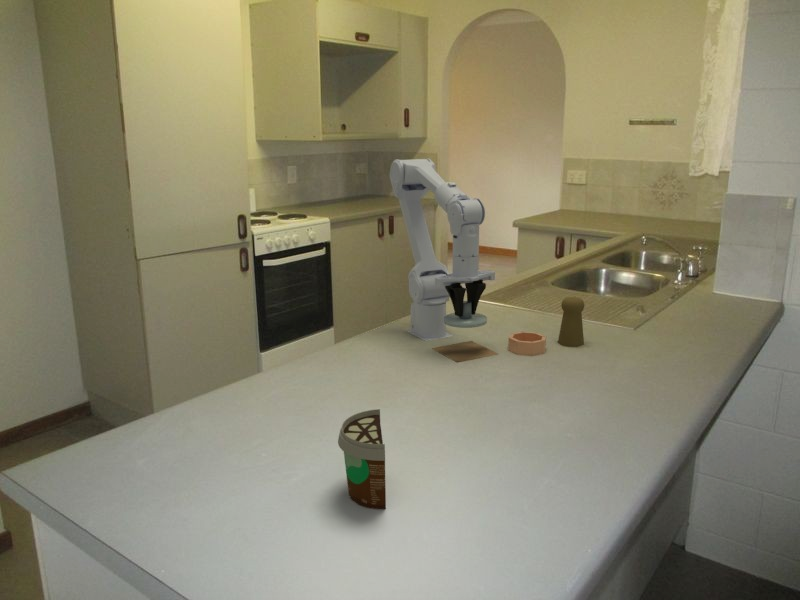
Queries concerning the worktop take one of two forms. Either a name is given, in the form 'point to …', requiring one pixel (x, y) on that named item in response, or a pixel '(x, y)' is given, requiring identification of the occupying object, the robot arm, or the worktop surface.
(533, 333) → the pot
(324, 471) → the worktop surface
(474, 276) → the robot arm
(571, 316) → the cork
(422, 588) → the worktop surface
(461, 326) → the lid
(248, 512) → the worktop surface
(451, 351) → the board
